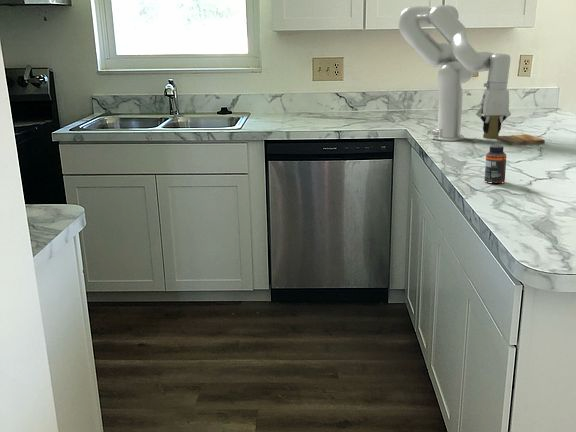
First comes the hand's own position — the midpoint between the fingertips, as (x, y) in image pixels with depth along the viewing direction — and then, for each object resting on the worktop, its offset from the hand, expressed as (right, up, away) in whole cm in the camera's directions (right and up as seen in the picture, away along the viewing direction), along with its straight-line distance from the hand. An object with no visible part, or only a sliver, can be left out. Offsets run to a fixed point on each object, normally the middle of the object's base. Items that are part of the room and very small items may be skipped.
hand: (491, 131), depth 251 cm
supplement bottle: (-19, -24, -60) cm, 67 cm away
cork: (0, -2, +1) cm, 3 cm away
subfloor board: (+12, -4, +3) cm, 13 cm away
